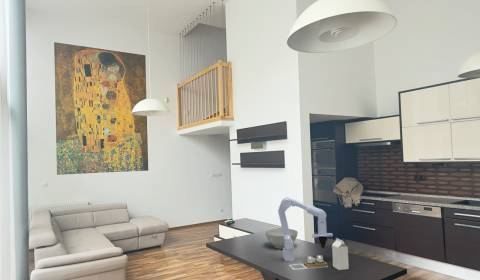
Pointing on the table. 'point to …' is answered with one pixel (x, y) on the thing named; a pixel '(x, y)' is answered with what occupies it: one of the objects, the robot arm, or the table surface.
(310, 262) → the cylinder
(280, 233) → the decorative bowl
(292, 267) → the square tray
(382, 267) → the table surface
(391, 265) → the table surface
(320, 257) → the cylinder
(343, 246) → the milk carton
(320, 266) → the wooden compartment tray
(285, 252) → the robot arm
